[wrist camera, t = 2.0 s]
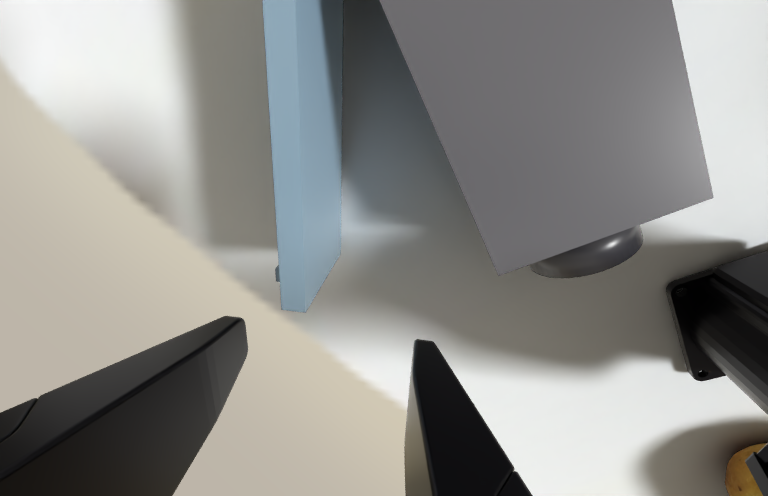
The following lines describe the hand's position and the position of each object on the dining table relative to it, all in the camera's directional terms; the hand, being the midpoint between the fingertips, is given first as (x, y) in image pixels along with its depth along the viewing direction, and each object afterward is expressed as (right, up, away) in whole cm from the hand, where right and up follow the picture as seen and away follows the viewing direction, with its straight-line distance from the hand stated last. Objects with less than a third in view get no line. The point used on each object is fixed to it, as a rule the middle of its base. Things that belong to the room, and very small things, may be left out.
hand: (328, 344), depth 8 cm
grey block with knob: (+6, +11, +8) cm, 15 cm away
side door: (-2, +9, +9) cm, 13 cm away
